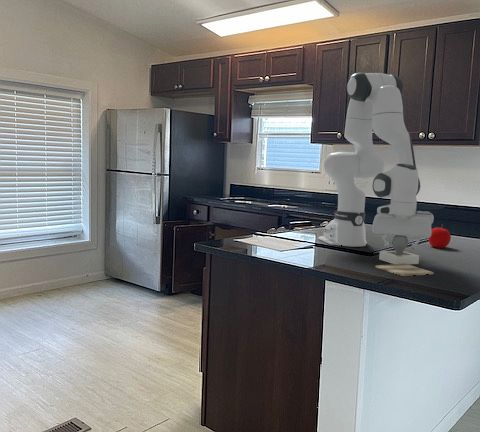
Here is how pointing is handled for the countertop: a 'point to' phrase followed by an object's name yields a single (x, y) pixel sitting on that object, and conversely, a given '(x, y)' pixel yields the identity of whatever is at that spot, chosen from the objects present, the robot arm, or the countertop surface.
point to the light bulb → (399, 244)
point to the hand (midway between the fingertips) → (399, 247)
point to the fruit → (439, 237)
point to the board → (404, 269)
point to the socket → (399, 257)
